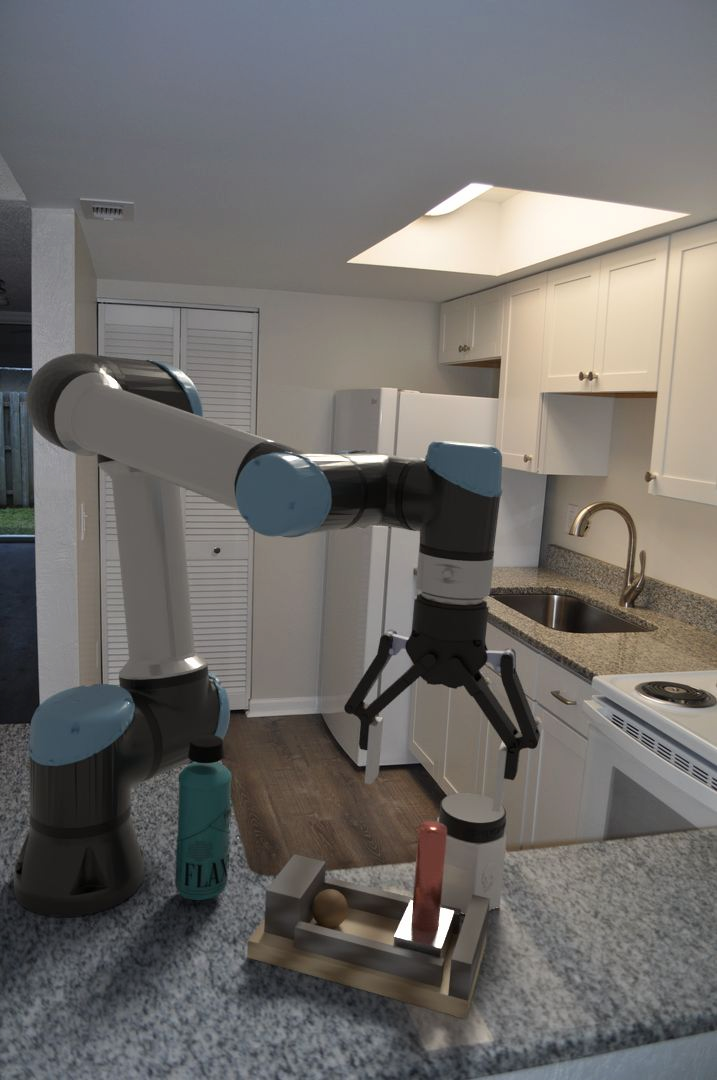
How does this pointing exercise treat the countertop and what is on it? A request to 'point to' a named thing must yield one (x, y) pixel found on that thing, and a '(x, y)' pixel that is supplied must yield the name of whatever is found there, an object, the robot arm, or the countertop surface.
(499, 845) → the jar
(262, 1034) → the countertop surface
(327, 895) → the nut
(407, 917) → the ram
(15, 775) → the countertop surface
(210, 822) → the beverage bottle
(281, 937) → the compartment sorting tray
